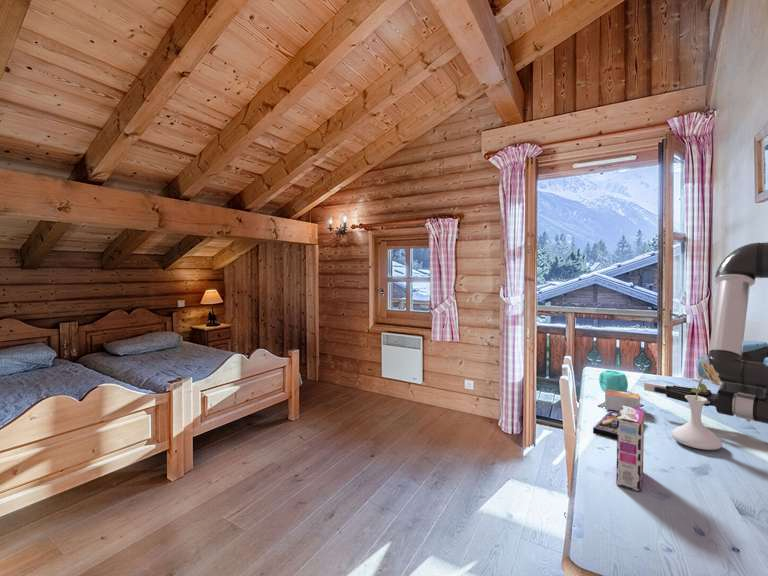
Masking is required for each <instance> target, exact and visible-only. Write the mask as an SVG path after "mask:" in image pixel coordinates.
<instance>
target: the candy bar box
mask: <svg viewBox="0 0 768 576" xmlns="http://www.w3.org/2000/svg"><path fill="white" fill-rule="evenodd" d="M618 413H619V415H618V417H617V439H616V481H615V484H616V485H617V486H619V487H623V488H626V489H628V488H629V490H631V489H633V490H632V491H634V490H637V491H636V492H638V491H639V493H640V492H641V488H642V480H643V476H644V440H645V437H644V436H645V435H644V434H645V409H643V408H640V409H639V408H634V407H628V406H622V408H621V410H620V412H618Z"/></svg>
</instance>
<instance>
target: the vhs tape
mask: <svg viewBox="0 0 768 576" xmlns="http://www.w3.org/2000/svg"><path fill="white" fill-rule="evenodd" d="M618 415H619V412H618V411H614V410H609V411H608V412H607V413H606V414H605V415H604V416H603V417H602V418H601V419H600V420H599V421H598V422H597V423H596V424H595V425H594V426H593V428H592V434H595V433H596V434H595V435H598V434H600V435H599V436H602V435H603V437H606V436H607V437H606V438H609V437H610V438H609V439H614V440H617V417H618Z"/></svg>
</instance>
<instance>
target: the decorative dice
mask: <svg viewBox="0 0 768 576" xmlns="http://www.w3.org/2000/svg"><path fill="white" fill-rule="evenodd" d="M598 383H599V386H600V388H601V390H602V391H603V392H604V391H606V389H607V390H615V391H622V392H628V391H627V390H628V389H629V387H628V386H629V382H628V378H627V376H626V374H624V372H622V371H618V370H612V369H611V370H602V371H601V372H600V373H599V376H598Z"/></svg>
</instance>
